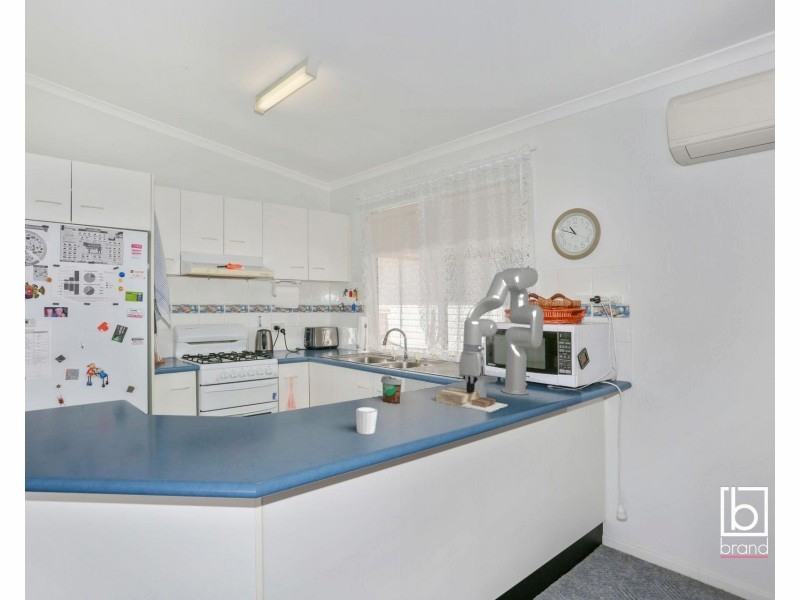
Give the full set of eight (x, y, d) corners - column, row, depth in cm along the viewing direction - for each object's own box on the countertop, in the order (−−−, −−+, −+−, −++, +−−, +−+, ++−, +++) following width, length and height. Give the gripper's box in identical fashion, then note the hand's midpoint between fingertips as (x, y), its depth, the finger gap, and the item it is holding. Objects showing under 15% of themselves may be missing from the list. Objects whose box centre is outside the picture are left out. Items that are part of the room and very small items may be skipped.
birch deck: (455, 395, 198) (456, 386, 198) (479, 400, 191) (479, 391, 191) (435, 401, 186) (436, 391, 186) (460, 406, 178) (460, 396, 178)
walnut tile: (495, 399, 182) (495, 404, 182) (482, 396, 186) (482, 401, 186) (485, 402, 175) (484, 407, 175) (471, 400, 179) (471, 405, 179)
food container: (375, 398, 186) (376, 374, 186) (388, 397, 188) (389, 374, 188) (387, 405, 174) (388, 380, 174) (401, 404, 177) (402, 379, 177)
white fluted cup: (379, 429, 141) (380, 408, 141) (372, 436, 134) (373, 413, 134) (359, 427, 143) (360, 405, 143) (351, 433, 136) (352, 410, 136)
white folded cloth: (480, 400, 190) (480, 399, 190) (507, 405, 183) (507, 404, 183) (461, 406, 178) (461, 405, 178) (489, 412, 170) (489, 411, 170)
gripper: (492, 350, 183) (490, 394, 183) (461, 346, 192) (459, 388, 192) (483, 351, 177) (481, 396, 177) (452, 347, 186) (450, 390, 186)
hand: (470, 392), depth 185 cm, fingers closed
